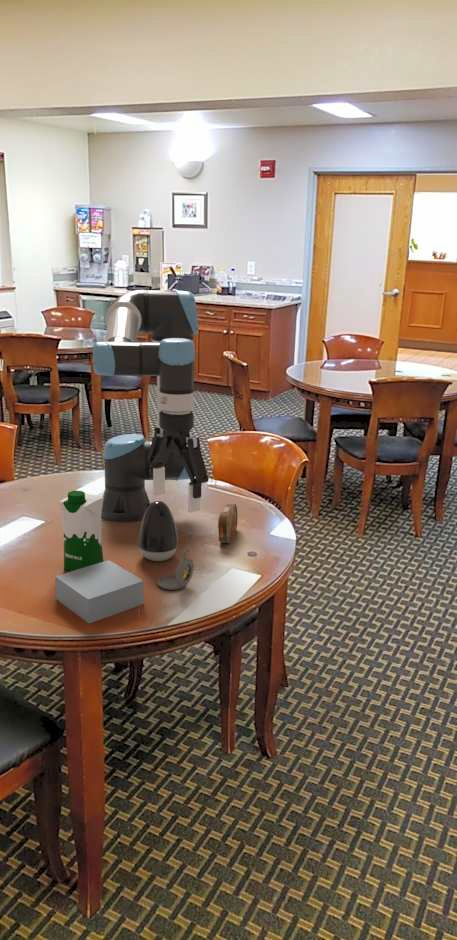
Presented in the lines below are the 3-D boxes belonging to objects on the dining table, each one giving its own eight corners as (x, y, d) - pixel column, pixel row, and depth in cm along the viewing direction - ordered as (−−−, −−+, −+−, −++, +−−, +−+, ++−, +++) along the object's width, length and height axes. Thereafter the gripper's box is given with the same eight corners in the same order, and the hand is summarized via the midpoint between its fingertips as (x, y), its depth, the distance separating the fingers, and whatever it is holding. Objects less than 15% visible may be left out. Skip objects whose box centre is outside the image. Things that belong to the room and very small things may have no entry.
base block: (56, 600, 163) (55, 576, 161) (109, 583, 172) (108, 560, 170) (89, 625, 153) (88, 599, 151) (143, 605, 162) (143, 580, 160)
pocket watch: (157, 578, 174) (157, 540, 171) (192, 578, 175) (193, 540, 172) (157, 594, 166) (157, 554, 163) (194, 594, 167) (194, 554, 164)
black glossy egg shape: (147, 568, 179) (146, 511, 175) (132, 553, 188) (131, 498, 183) (184, 561, 184) (185, 505, 179) (168, 546, 193) (168, 492, 188)
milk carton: (58, 570, 177) (54, 493, 171) (80, 557, 185) (77, 482, 179) (88, 577, 174) (85, 499, 168) (109, 563, 182) (107, 488, 176)
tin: (227, 548, 193) (228, 518, 190) (216, 547, 193) (216, 517, 191) (238, 527, 207) (239, 500, 204) (227, 526, 207) (228, 499, 205)
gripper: (131, 402, 165) (132, 491, 171) (197, 424, 146) (196, 522, 153) (158, 399, 169) (158, 485, 176) (226, 419, 151) (223, 514, 157)
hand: (176, 502), depth 164 cm, fingers open, 13 cm apart
